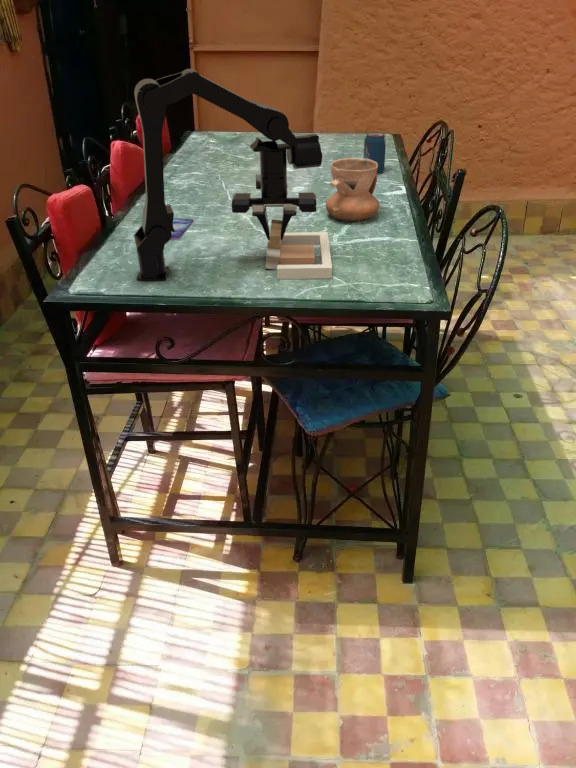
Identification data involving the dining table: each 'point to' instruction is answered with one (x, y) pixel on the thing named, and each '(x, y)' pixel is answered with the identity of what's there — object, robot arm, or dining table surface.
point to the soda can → (375, 149)
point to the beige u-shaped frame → (307, 270)
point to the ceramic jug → (353, 189)
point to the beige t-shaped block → (274, 245)
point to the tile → (297, 255)
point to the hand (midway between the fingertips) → (275, 239)
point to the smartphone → (180, 227)
